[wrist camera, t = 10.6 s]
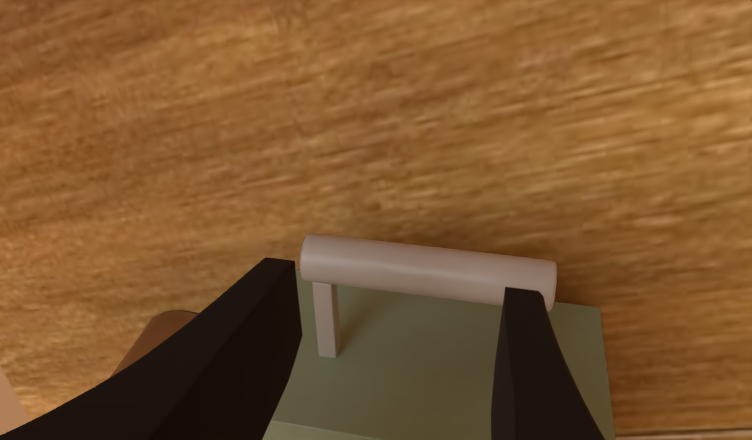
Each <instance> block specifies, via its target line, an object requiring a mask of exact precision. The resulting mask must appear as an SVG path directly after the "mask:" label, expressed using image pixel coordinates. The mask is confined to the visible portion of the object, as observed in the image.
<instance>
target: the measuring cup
mask: <svg viewBox="0 0 752 440" xmlns="http://www.w3.org/2000/svg"><path fill="white" fill-rule="evenodd" d="M197 315H198V314H196V313H192V312H187V311H170V312H165V313H162V314H160V315H158V316H156V317H155V318H153V319H152V320H151V321H150V322H149V324H148V325H147V326H146V328H145V329H144V331H143V332H142V333H141V335H140V336H139V338H138V339H137V340H136V342H135V343H134V345H133V346H132V347H131V349H130V350H129V352H128V353H127V355H126V356H125V357H124V359H123V360H122V362H121V363H120V364H119V366H118V367H117V369H116V370H115V371H114V373H113V374H112V376H114V375H115V374H117V373H118V372H120V371H121V370H123V369H125V368H126V367H128V366H129V365H131V364H132V363H134V362H135V361H137V360H138V359H140V358H141V357H143V356H144V355H146V354H147V353H149V352H150V351H151V350H153V349H154V348H155V347H157V346H158V345H159V344H161V343H162V342H163V341H165V340H166V339H167V338H169V337H170V336H171V335H173V334H174V333H175V332H177V331H178V330H179V329H181V328H182V327H183V326H185V325H186V324H187V323H188V322H190V321H191V320H192V319H193V318H194V317H196V316H197ZM112 376H111V377H112Z"/></svg>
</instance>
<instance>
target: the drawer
mask: <svg viewBox="0 0 752 440" xmlns="http://www.w3.org/2000/svg"><path fill="white" fill-rule="evenodd" d="M295 270H296V279H297V288H298V298H299V307H300V316H301V325H302V334H303V335H302V339H301V342H300V346H299V349H298V352H297V356H296V359H295V362H294V366H293V369H292V372H291V375H290V378H289V381H288V383H287V385H286V388H285V390H284V392H283V395H282V397H281V399H280V401H279V403H278V406H277V408H276V410H275V412H274V415H273V417H272V419H271V421H270V423H269V426H268V428H267V430H266V432H265V434H264V437H263V439H262V440H491V404H492V391H493V380H494V368H495V359H496V351H497V344H498V337H499V329H500V322H501V315H502V307H503V300H504V292H505V287H512V288H520V289H528V290H536V291H539V292H540V293H541V294H542V295H543V296H544V301H545V305H546V309H547V313H548V316H549V319H550V322H551V325H552V328H553V331H554V334H555V336H556V339H557V342H558V344H559V347H560V349H561V352H562V354H563V357H564V359H565V361H566V363H567V366H568V368H569V370H570V372H571V375H572V377H573V379H574V381H575V383H576V386H577V388H578V390H579V392H580V394H581V396H582V398H583V400H584V402H585V404H586V406H587V407H588V409H589V411H590V413H591V415H592V417H593V419H594V421H595V423H596V424H597V426H598V428H599V430H600V431H601V433H602V435H603V437H604V438H605V440H616V438H615V430H614V421H613V413H612V405H611V396H610V388H609V380H608V371H607V363H606V355H605V346H604V338H603V330H602V321H601V313H600V308H599V307H594V306H586V305H577V304H569V303H561V302H554V299H555V293H556V283H557V265H556V262H555V261H553V260H546V259H537V258H528V257H519V256H510V255H502V254H493V253H484V252H475V251H466V250H458V249H449V248H440V247H431V246H422V245H414V244H405V243H396V242H387V241H378V240H370V239H361V238H352V237H343V236H334V235H326V234H317V233H310V234H308V235H307V236H306V238H305V240H304V242H303V245H302V249H301V254H300V270H297V269H295Z"/></svg>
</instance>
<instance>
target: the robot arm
mask: <svg viewBox="0 0 752 440" xmlns="http://www.w3.org/2000/svg"><path fill="white" fill-rule="evenodd" d="M302 335H303V334H302V325H301V316H300V307H299V298H298V288H297V279H296V270H295V261H291V260H283V259H274V258H264V259H263V260H262V261H261V262H260V263H258V264H257V265H256V266H255V267H253V268H252V269H251V270H250V271H249V272H248V273H246V274H245V275H244V276H243V277H242V278H241V279H240V280H238V281H237V282H236V283H235V284H234V285H233V286H231V287H230V288H229V289H228V290H227V291H226V292H224V293H223V294H222V295H221V296H220V297H219V298H217V299H216V300H215V301H214V302H213V303H211V304H210V305H209V306H208V307H207V308H205V309H204V310H203V311H202V312H201V313H199V314H198V315H197V316H196V317H194V318H193V319H192V320H191V321H190V322H188V323H187V324H186V325H185V326H183V327H182V328H181V329H179V330H178V331H177V332H175V333H174V334H173V335H171V336H170V337H169V338H167V339H166V340H165V341H163V342H162V343H161V344H159V345H158V346H157V347H155V348H154V349H153V350H151V351H150V352H149V353H147V354H146V355H144V356H143V357H141V358H140V359H138V360H137V361H135V362H134V363H132V364H131V365H129V366H128V367H126V368H125V369H123V370H121V371H120V372H118V373H117V374H115V375H114V376H112V377H110V378H109V379H107V380H106V381H104V382H102V383H101V384H99V385H97V386H96V387H94V388H92V389H90V390H88V391H87V392H85V393H83V394H81V395H79V396H77V397H76V398H74V399H72V400H70V401H68V402H66V403H65V404H63V405H61V406H59V407H57V408H56V409H54V410H52V411H50V412H48V413H46V414H44V415H42V416H40V417H38V418H36V419H34V420H32V421H30V422H28V423H26V424H24V425H22V426H20V427H18V428H16V429H14V430H11V431H9V432H7V433H5V434H3V435H0V440H262V439H263V437H264V434H265V432H266V430H267V428H268V426H269V423H270V421H271V419H272V417H273V415H274V412H275V410H276V408H277V406H278V403H279V401H280V399H281V397H282V395H283V392H284V390H285V388H286V385H287V383H288V381H289V378H290V375H291V372H292V369H293V366H294V362H295V359H296V356H297V352H298V349H299V346H300V342H301V339H302ZM491 440H605V438H604V437H603V435H602V433H601V431H600V430H599V428H598V426H597V424H596V423H595V421H594V419H593V417H592V415H591V413H590V411H589V409H588V407H587V406H586V404H585V402H584V400H583V398H582V396H581V394H580V392H579V390H578V388H577V386H576V383H575V381H574V379H573V377H572V375H571V372H570V370H569V368H568V366H567V363H566V361H565V359H564V357H563V354H562V352H561V349H560V347H559V344H558V342H557V339H556V336H555V334H554V331H553V328H552V325H551V322H550V319H549V316H548V313H547V309H546V305H545V301H544V296H543V295H542V294H541V293H540V292H539V291H536V290H528V289H520V288H512V287H505V292H504V300H503V307H502V315H501V322H500V329H499V337H498V344H497V351H496V359H495V368H494V380H493V391H492V404H491Z"/></svg>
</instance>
